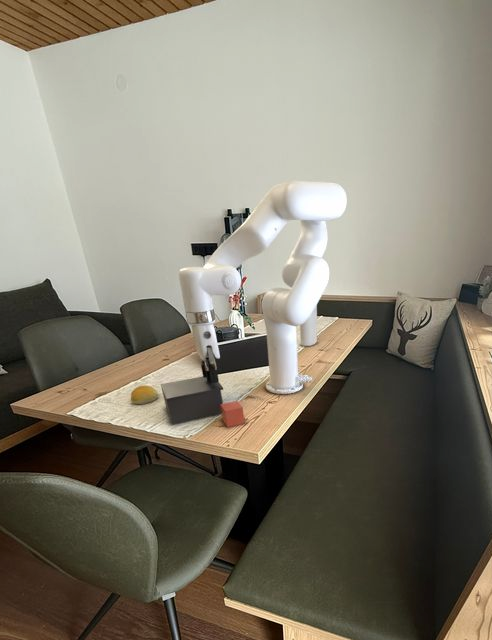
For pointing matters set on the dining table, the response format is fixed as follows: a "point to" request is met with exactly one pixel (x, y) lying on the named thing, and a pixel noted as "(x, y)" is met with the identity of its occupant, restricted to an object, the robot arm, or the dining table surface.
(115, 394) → the dining table surface
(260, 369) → the dining table surface
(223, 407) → the block
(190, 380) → the lid
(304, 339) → the paper towel roll
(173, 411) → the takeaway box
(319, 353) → the dining table surface
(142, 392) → the bread roll
